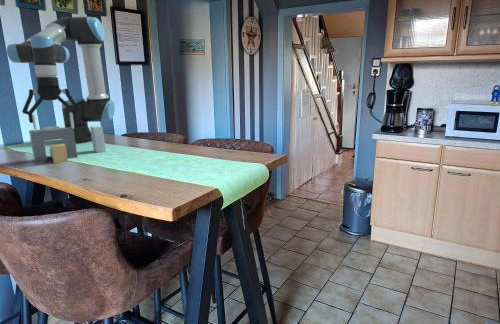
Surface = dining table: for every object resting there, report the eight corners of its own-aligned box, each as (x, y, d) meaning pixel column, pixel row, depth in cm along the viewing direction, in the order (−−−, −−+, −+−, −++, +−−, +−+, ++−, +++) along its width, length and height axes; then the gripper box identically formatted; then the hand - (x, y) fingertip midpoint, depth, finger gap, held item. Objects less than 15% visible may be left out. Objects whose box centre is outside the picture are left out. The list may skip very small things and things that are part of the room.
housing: (74, 154, 155) (70, 125, 151) (77, 157, 150) (73, 126, 147) (34, 160, 146) (28, 128, 142) (35, 162, 141) (30, 130, 137)
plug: (61, 154, 155) (59, 140, 154) (67, 161, 143) (65, 145, 141) (49, 156, 152) (47, 141, 151) (54, 163, 140) (51, 147, 138)
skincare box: (106, 151, 161) (103, 126, 158) (96, 153, 158) (93, 127, 155) (102, 149, 166) (99, 125, 163) (92, 150, 163) (89, 126, 160)
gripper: (79, 76, 144) (85, 126, 149) (8, 76, 130) (17, 131, 135) (83, 76, 138) (89, 127, 143) (9, 76, 124) (19, 133, 129)
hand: (54, 129), depth 139 cm, fingers open, 13 cm apart
